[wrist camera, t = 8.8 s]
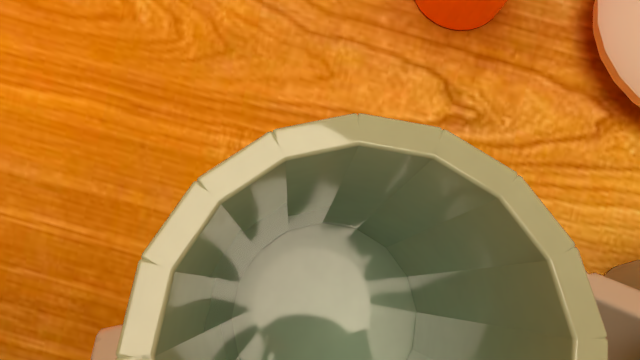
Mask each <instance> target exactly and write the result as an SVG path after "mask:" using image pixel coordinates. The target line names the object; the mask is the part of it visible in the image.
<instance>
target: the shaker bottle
mask: <svg viewBox="0 0 640 360" xmlns="http://www.w3.org/2000/svg"><path fill="white" fill-rule="evenodd" d="M507 1H508V0H415V2H416V4H417V5H418V7H419V8H420V10H421V11H422V12H423V13H424V14H425V16H426V17H428V18H429V19H430V20H432V21H433V22H434V23H436V24H438V25H440V26H442V27H446V28H449V29H454V30H470V29H474V28H478V27H480V26H482V25H484V24H486V23H488V22H489V21H490V20H491V19H493V18H494V16H495V15H496V14H497V13H498V12H499V11H500V9H501V8H502V7H503V6H504V5H505V3H506V2H507Z"/></svg>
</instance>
